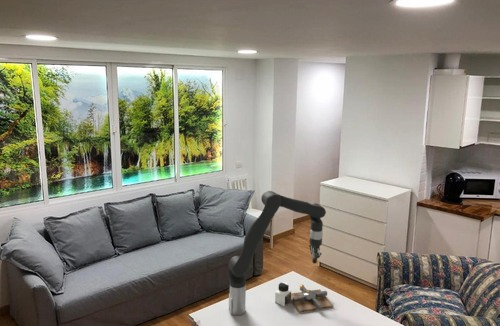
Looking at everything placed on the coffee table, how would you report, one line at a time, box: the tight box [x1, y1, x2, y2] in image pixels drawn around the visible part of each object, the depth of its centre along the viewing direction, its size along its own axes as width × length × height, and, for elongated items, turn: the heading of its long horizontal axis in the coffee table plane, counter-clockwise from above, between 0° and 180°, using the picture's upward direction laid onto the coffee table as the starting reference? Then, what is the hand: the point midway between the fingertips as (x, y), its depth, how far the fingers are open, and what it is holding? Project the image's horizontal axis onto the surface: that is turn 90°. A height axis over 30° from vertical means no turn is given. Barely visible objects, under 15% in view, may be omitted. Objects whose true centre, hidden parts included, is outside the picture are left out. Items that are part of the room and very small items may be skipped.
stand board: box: [290, 289, 334, 314], centre depth 234 cm, size 22×18×2 cm
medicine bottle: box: [274, 281, 292, 307], centre depth 233 cm, size 7×7×12 cm
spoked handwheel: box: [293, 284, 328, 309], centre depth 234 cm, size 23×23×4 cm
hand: (314, 262), depth 235 cm, fingers closed
